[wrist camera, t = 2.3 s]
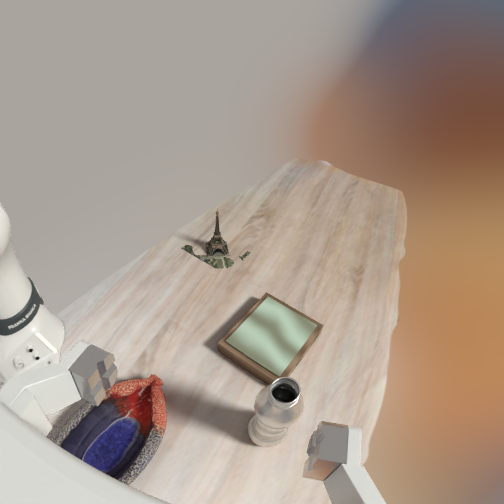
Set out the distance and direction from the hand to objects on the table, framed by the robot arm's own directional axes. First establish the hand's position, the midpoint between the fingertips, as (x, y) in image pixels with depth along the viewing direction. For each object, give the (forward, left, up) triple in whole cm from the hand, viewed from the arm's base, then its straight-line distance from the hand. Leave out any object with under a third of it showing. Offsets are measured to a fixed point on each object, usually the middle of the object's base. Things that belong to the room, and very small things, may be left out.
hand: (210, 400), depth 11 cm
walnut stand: (+28, +10, -43) cm, 53 cm away
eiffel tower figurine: (+42, +36, -44) cm, 71 cm away
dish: (-8, +18, -44) cm, 48 cm away
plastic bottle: (+12, 0, -43) cm, 45 cm away
